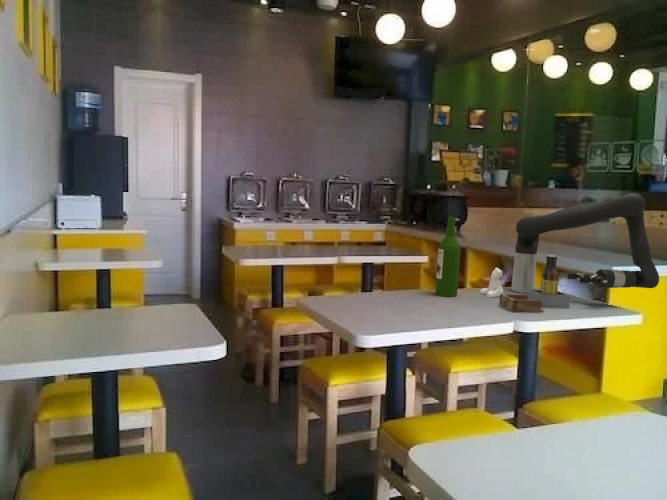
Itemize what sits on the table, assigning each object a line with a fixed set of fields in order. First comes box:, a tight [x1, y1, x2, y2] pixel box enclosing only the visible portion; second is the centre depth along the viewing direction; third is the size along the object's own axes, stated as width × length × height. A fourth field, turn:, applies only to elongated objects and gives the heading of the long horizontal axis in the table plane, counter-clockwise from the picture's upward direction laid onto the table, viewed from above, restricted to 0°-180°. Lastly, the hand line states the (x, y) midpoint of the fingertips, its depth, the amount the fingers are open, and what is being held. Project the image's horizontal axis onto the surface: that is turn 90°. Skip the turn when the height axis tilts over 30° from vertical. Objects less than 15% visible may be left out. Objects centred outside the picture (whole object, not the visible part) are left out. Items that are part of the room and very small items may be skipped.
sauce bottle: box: [540, 254, 559, 295], centre depth 246 cm, size 6×6×20 cm
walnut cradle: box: [498, 293, 544, 313], centre depth 236 cm, size 12×12×4 cm
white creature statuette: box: [480, 267, 504, 298], centre depth 261 cm, size 10×9×12 cm
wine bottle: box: [434, 216, 461, 298], centre depth 255 cm, size 9×9×32 cm
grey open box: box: [527, 289, 571, 309], centre depth 247 cm, size 11×12×5 cm
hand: (574, 278), depth 248 cm, fingers open, 8 cm apart
